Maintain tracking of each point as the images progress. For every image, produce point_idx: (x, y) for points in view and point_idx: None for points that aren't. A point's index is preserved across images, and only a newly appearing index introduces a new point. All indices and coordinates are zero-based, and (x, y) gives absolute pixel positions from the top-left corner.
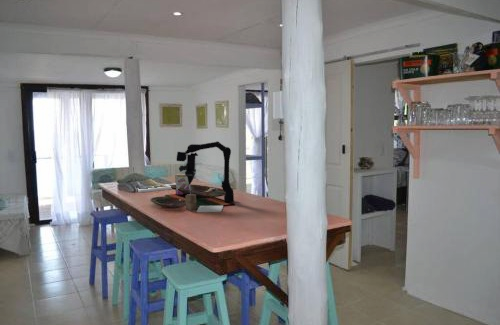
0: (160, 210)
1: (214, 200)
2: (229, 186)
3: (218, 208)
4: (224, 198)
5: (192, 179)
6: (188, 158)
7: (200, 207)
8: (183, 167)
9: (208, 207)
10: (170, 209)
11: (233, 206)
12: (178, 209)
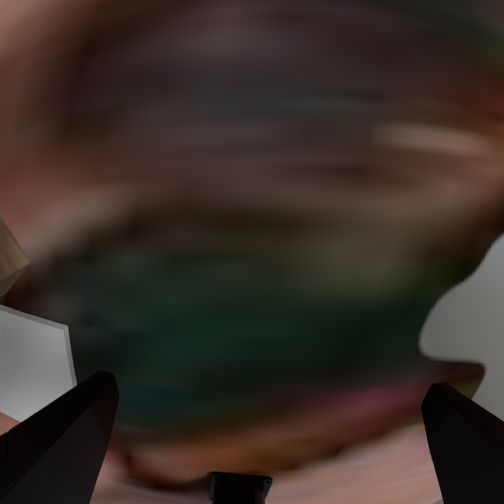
0: (10, 27)
1: (309, 430)
2: None
3: (18, 409)
4: (229, 490)
5: (437, 469)
6: None
7: (17, 325)
8: None
9: (26, 371)
10: (13, 89)
11: (103, 475)
12: (2, 155)
